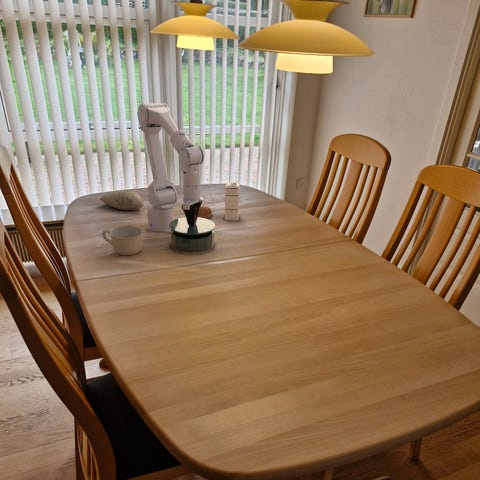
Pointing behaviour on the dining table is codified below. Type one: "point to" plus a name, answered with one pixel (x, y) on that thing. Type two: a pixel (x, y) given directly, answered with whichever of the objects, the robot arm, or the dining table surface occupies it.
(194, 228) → the lid
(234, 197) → the white toy tower
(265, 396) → the dining table surface
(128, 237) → the teacup
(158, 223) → the robot arm
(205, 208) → the bread
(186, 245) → the pot
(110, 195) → the rock
